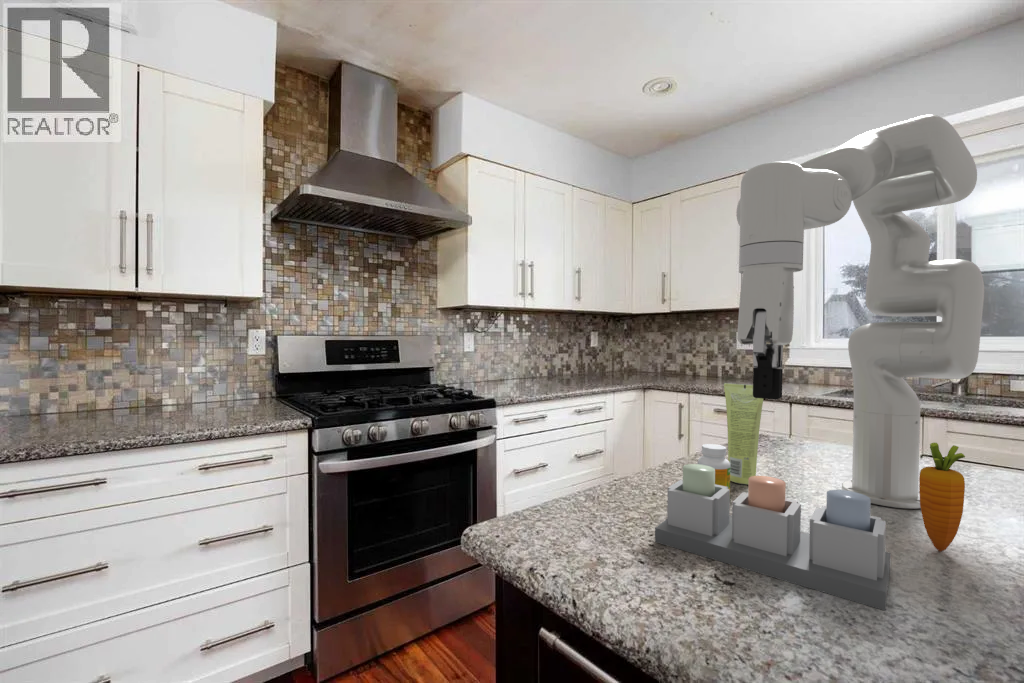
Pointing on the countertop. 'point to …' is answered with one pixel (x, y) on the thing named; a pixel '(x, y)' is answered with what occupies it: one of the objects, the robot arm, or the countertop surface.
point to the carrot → (942, 497)
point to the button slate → (848, 509)
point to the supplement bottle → (716, 463)
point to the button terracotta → (767, 493)
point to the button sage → (699, 479)
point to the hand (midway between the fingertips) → (767, 397)
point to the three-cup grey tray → (780, 543)
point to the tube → (742, 430)
